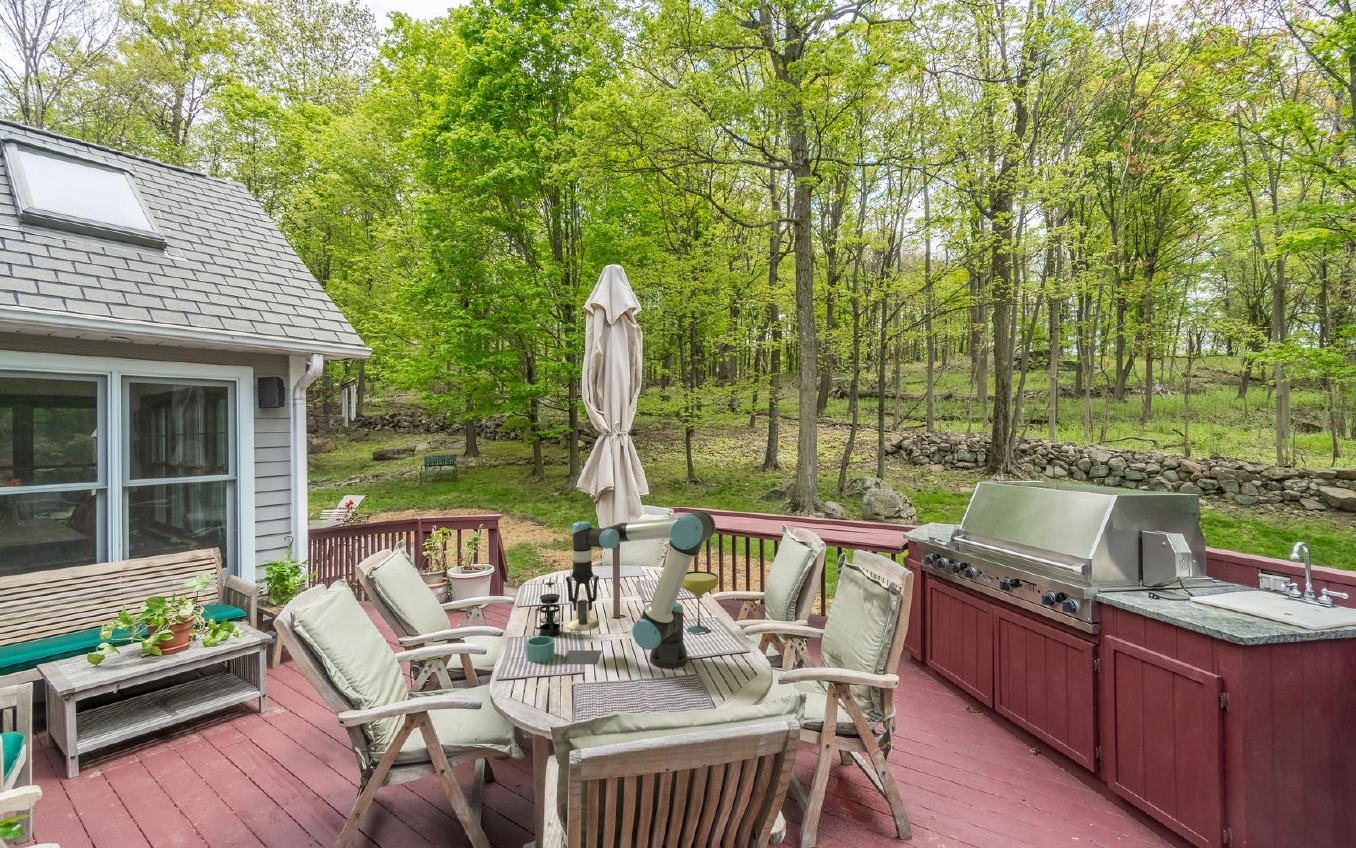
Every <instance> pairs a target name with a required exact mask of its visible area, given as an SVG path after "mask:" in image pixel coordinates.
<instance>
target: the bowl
mask: <svg viewBox="0 0 1356 848" xmlns="http://www.w3.org/2000/svg"><path fill="white" fill-rule="evenodd" d="M555 641H556V639H554V637H548V636H540V635H539V636H533V637H530V638H529V639H527V640H526V641H525V658H526V661H527V662H530V663H537V664H539V663H545V662H548V661H551V660H553V659H554V658H555V653H556V652H555V649H556V647H555V646H556V643H555Z"/></svg>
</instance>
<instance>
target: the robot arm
mask: <svg viewBox="0 0 1356 848" xmlns="http://www.w3.org/2000/svg"><path fill="white" fill-rule="evenodd" d="M715 533H716V522H715V518H714V516H713V515H712V514H710V513H709V512H707V511H705V510H697V511H693V512H691V513H684V514H683V515H680V516H679V517H670V518H662V519H661V518H660V519H652V520H644V521H643V520H642V521H634V522H633V521H632V522H619V523H617V524H613V525H610V526H605V527H602V528H598V527H593V525H592V522H590V521H583V520H582V521H576V522H574V523H573V524H572V534H571V535H572V560H573V561H572V573H571V575H567V576H566V577H565V580H566V583H567V596H568V601H569V602H572V603H573V605H572V606H573V611H574V612H575V619H576V620H578V601H579V600H578V597H579V590H580V585H581V584H582V585H584V586H585V591H586V592H585V593H586V597H587V620H589V618H590V617H591V616H590V612H591V611H592V610H593V603H594V602H596V600H597V598H598V583H599V582H598V581H599V580H600V579H599V578H600V576H599V575H595V574H594V573H593V563H592V559H593V557H592V555H593V554H592V552H593V550H592V549H593V547H594V548H599V549H601V548H602V549H606V550H607V549H615V548H616V547H617V546H618V545H619V544H620V543H624V542H625V543H626V542H627V543H628V542H635V541H646V540H659V539H660V540H661V539H668V538H669V539H670V540H669V542H668V545H669V547H670V551H669V554H668V557H667V559H666V562H665V564H664V566H663V570H662V572H661V574H660V578H659V579H658V582H657V585H656V588H655V590H654V593H653V596H652V599H651V602H650V603H649V604H646V605H645V606H644V608H643V611H642V613H641V616H640V618H639V619H637V620H636V621H635V623H633V625H632V627H631V628H632V629H631V634H632V638H633V640H634V642H635V644H636V645H638V647H640V648H642V649H643V650H647V651H649V650H650V653H649V654H650V655H649V662H650V664H651V665H652V666H654V667H657V666H658V667H657V668H663V669H674V668H679V667H682V666H685V665H686V664H687V663H688V661H689V660H688V659H689V658H688V656H689V655H688V651H687V650H686V646H685V643H684V607H683V605H682V604H681V603H679V602H677V599H678V596H679V594H680V591H681V589H682V587H681V586H682V584H683V581H684V579H685V576H686V573H687V572H689V571H688V570H689V569H690V566H691V563H692V560H693V558H695V557H697V556H699V553H700V551H701V550H702V549H701V548H702V546H703V544H704V543H705V542H707V541H708V540H710V539H711V538H712V537H713V536H714V534H715ZM591 579H592V581H593V589H592V590H593V591H591V584H590V581H591ZM573 580H574V582H576V583H575V589H574V595H573V582H572V581H573ZM592 592H593V593H592Z"/></svg>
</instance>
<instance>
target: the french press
mask: <svg viewBox="0 0 1356 848" xmlns="http://www.w3.org/2000/svg"><path fill="white" fill-rule="evenodd" d="M544 585H546V586H548V588H549V589H551V588H552V586H554V585H555V582H552V581H550V582H545V584H544ZM560 598H561V595H560V594H558V593H546V594H542V595H540V596H539V599H540V603H541V604H544V605H541V606H540V607H539V608H535V609H534V610H535V613H534V615H535V616H534V618H535V627H534V628H535V629H536V630H539V634H538V635H539V636H548V637H552V638H554V637H557V636H560V635H561V606H560V605H559V604H556V603H558V602H559V599H560ZM551 608H555V609H551ZM537 611H539V627H537V619H538V618H537V615H538V614H537V613H538V612H537ZM557 612H558V617H557V616H554V613H557ZM541 614H546V617H545V616H544V617H541V616H542V615H541Z"/></svg>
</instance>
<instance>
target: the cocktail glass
mask: <svg viewBox="0 0 1356 848" xmlns="http://www.w3.org/2000/svg"><path fill="white" fill-rule="evenodd" d="M718 585H719V576H718V574H716V573H713V572H709V571H704V570H703V571H700V570H697V571H695V570H694V571H687V573H686V576H685V579H684V581H683V584H682V586H681V588H683V589H684V590H686V591H688V592H689V593H692V594H693V595H694V596H695V597H696V599H697V624H696V625H693V626H689V627H688V628H687V629H686V631H687V632H688V633H689V632H691V633H690V634H692V632H693V633H700V632H709V629H708V628H709V627H708V626H705V625H701V621H700V619H701V617H700V599H701V598H702V597H703V595H705V594H706V593H709V592H710V591H713V590H714V589H715V588H716V587H718ZM709 633H710V632H709Z"/></svg>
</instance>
